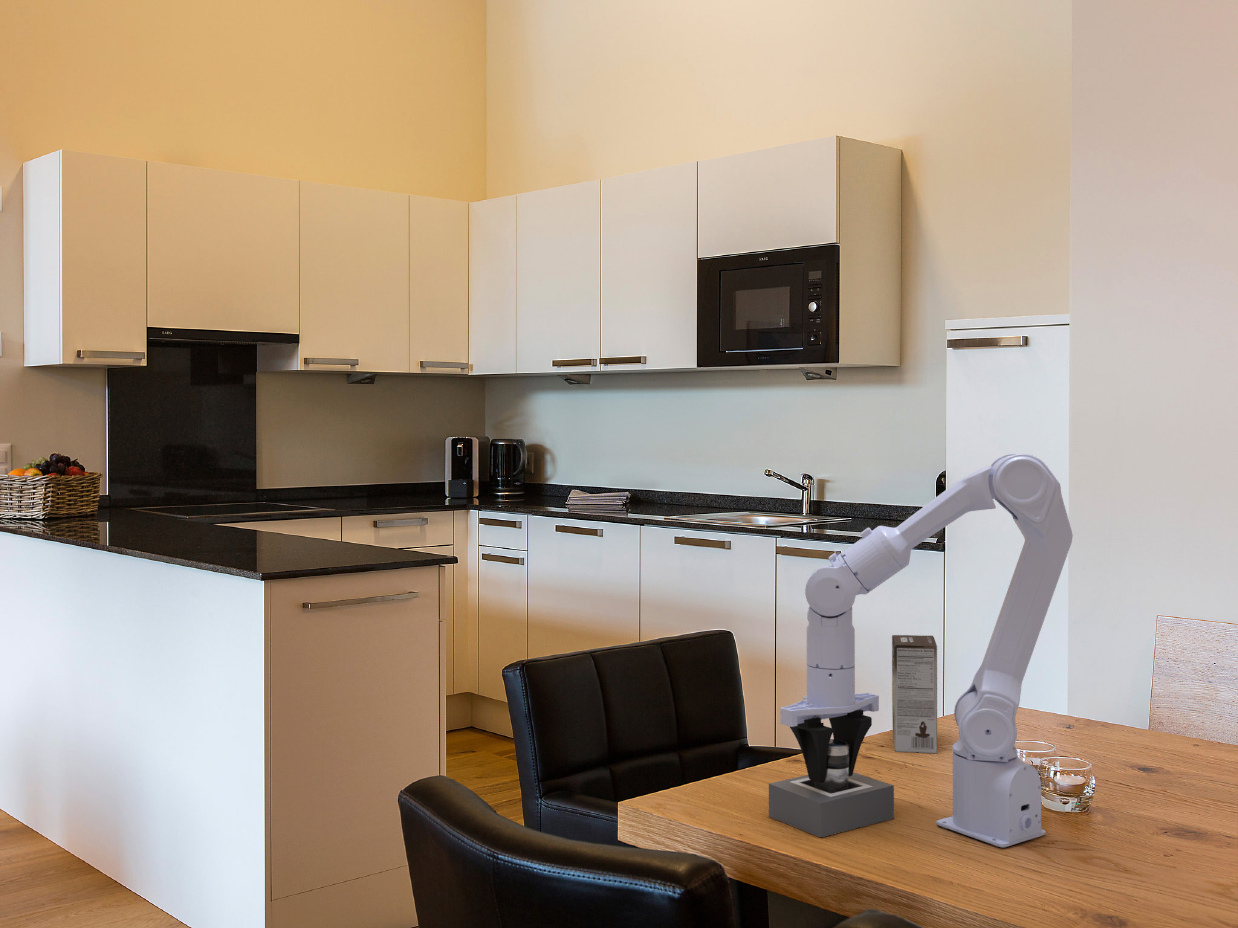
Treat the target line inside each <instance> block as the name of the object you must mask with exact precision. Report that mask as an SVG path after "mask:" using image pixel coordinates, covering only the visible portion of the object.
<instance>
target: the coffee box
mask: <svg viewBox="0 0 1238 928" xmlns="http://www.w3.org/2000/svg"><path fill="white" fill-rule="evenodd" d="M891 692H892V693H891V696H892V697H891V702H892V705H891V706H892V707H891V708H892V738H893V746H894V747H893V748H894V751H895V752H897V753H899V752H900V753H916V752H919V753H921V754H938V645H937V642H936V640H935V636H934V635H916V634H914V635H910V634H909V635H908V634H905V635H904V634H892V635H891ZM919 753H918V754H919Z"/></svg>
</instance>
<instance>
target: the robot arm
mask: <svg viewBox="0 0 1238 928" xmlns="http://www.w3.org/2000/svg"><path fill="white" fill-rule="evenodd" d="M994 500H995V501H996V502H997V503H998V504H999V505H1000V506H1001V507H1002V508H1003V509H1005V510H1006V511H1007V512H1008V513H1009V514H1010V515H1011V516H1012V519H1013V521H1014V524H1016V527H1017V528H1018V529H1019V531H1020V533H1021V534H1022V536H1023V538H1024V543H1023V545H1022V548H1021V552H1020V555H1019V557H1018V560H1017V562H1016V565H1015V569H1014V572H1013V574H1012V577H1011V579H1010V583H1009V585H1008V587H1007V591H1006V594H1005V597H1004V600H1003V603H1002V606H1001V608H1000V611H999V614H998V616H997V620H996V623H995V625H994V629H993V631H992V634H991V637H990V640H989V642H988V645H987V648H986V651H985V653H984V657H983V660H982V662H981V664H980V666H979V668H978V669H977V671H976V673H975V674H974V677H973V680H972V682H971V685H970V686H969V688H968V689H966V691H964V693H962V694H961V695H960V696H959V698H957V701H956V702H955V705H954V711H953V712H954V713H953V714H954V721H955V723H956V725H957V726H958V735H959V738H958V740H957V741H956V742H955V743H953V744H952V816H949V817H943V818H941V819H938V820H936V825H937V826H940V827H941V828H945V829H949V830H951V831H953V832H955V833H959V834H962V835H965V836H968V837H971V838H972V839H973V838H974V839H976V840H980V841H981V842H985V843H987V844H990V845H993V846H995V847H998V848H999V847H1000V848H1007V847H1010V846H1014V845H1016V844H1021V843H1022V842H1027V841H1029V840H1033V839H1036V838H1039V837H1042V836H1045V835H1046V830H1045V829H1043V828H1042V781H1041V777H1040V775H1039V772H1038V770H1037V768H1035V767H1034V766H1032V765H1030V764H1028V763H1027V762H1024V761H1023V760H1021V758H1020V757H1019V756H1018V750H1017V747H1016V746H1015V744H1016V741H1017V740H1018V739H1017V738H1018V728H1017V723H1016V722H1017V721H1016V717H1017V716H1016V715H1017V711H1018V709H1019V706H1020V701H1021V695H1022V694H1021V692H1022V686H1023V681H1024V677H1025V675H1026V673H1027V669H1028V667H1029V664H1030V661H1031V658H1032V656H1033V652H1034V649H1035V648H1036V647H1035V646H1036V645H1037V641H1038V639H1039V636H1040V633H1041V630H1042V627H1043V625H1044V621H1045V618H1046V616H1047V613H1048V610H1049V607H1050V604H1051V602H1052V599H1053V597H1054V593H1055V590H1056V588H1057V586H1058V583H1059V579H1060V576H1061V573H1062V571H1063V567H1064V565H1065V562H1066V560H1067V557H1068V553H1069V551H1070V548H1071V546H1072V542H1073V536H1074V535H1073V531H1072V527H1071V524H1070V521H1069V516H1068V513H1067V509H1066V505H1065V503H1064V499H1063V494H1062V488H1061V483H1060V481H1059V480H1058V479H1057V477H1056V476H1055V474H1053V472H1052V471H1051V470H1050V468H1049V467H1048V465H1046V463H1045V462H1044V461H1043V460H1042V459H1040V458H1039V457H1037V456H1034V455H1033V454H1028V453H1010V454H1004V455H1002V456H1001V457H999V458H997V459H996V460H994V461H993V462H992V463H991V464H990V465H986V466H982V467H981V468H979V469H977V470H975V471H973V472H972V473H969V474H968V475H966V476H964V477H962V478H960V479H959V480H957V481H956V482H955V483H953V484H952V485H951V486H949V487H948V488H947V489H945V490H944V491H943V492H941V493H940V494H939V495H937V496H936V497H935V498H933V499H932V500H930V501H929V502H928V503H927V504H925V505H924V506H923V507H922V508H920V509H919V510H917V511H916V512H915V513H913V514H912V515H911V516H909V517H908V518H907V519H905V520H904V521H903V522H902V523H900V524H899V525H898V526H896V527H891V526H885V525H878V526H877V527H875V528H874V529H873V530H872V529H871V528H870V527H866V528H865V529H864V530H863V531H861V532H860V536H861V538H860V539H858V540H857V541H856V542H854V543H853V544H852V545H850V546H849V547H848V548H846V549H845V550H843V551H841V553H839V554H837V553H836V552H834V553H832V554H831V555H830V556H829V557H828V561H829V562H830V564H824V565H821V566H820V567H818V568H816V569H815V570H814V571H813V572H812V573H811V576H809V578H808V579H807V582H806V584H805V589H804V591H805V592H804V593H805V599H806V601H807V603H808V605H809V607H808V610H807V614H806V615H807V621H808V625H807V626H806V695H803V697H802V699H803V700H800V701H798V702H794V703H792V704H790V705H787V706H782V707H780V709H779V710H780V714H779V715H780V725H784V726H788V727H789V729H790V730H791V731H792V733H793V735H794V737H795V739H796V741H797V743H798V746H799V747H800V751H801V753H802V756H803V759H804V763H805V767H806V771H807V775H808V776H809V779H810V780H813V781H816V782H819V783H822V782H825V778H826V767H827V752H828V747H829V742H830V739H837V740H842V741H845V742H848V743H849V776H852V775H853V772H855V766H856V763H857V759H858V755H859V752H860V748H861V746H862V744H863V742H864V740H865V737H866V736H867V733H868V731H869V730H870V728H871V727H872V726H873V723H872V721H873V718H872V717H871V716H868V715H865V714H864V712H872V713H875V712H879V709H880V708H879V707H880V705H879V704H880V703H879V702H880V700H879V699H880V697H879V695H878V694H873V693H870V692H863V693H862V692H861V693H856V685H855V684H856V681H855V680H856V677H855V672H856V671H855V670H856V669H855V668H856V666H855V665H856V664H855V661H856V658H855V657H856V656H855V654H856V648H855V645H856V644H855V643H856V641H855V640H856V638H855V636H856V635H855V631H856V630H855V627H854V625H853V605H854V603H855V602H856V601H855V599H856V596H858V595H867V594H869V593H870V592H872V591H873V590H875V589H876V588H877V587H880V585H882V584H884V582H886V581H887V580H889V579H890V578H891V577H893V576H895V575H897V574H898V573H899V572H901V571H902V570H903V569H906V567H908V566H909V564H910V561H911V553H912V549H913V548H915V547H917V546H918V545H919V544H921V543H923V542H924V541H926V540H927V539H929V538H931V536H933V535H935V534H937V533H938V532H939V531H941V530H942V529H944V528H945V527H947V526H948V525H950V524H951V523H953V522H955V521H957V519H960V518H961V517H962V516H964V515H965V514H966V513H967V514H968V513H969V512H975V511H976V512H978V511H984V510H985V511H986V510H993V509H996V508H997V507H996V504H995V502H994ZM826 719H827V720H829V724H830V726H826V725H824V724H825V723H824V722H822V720H826ZM832 737H833V738H832Z"/></svg>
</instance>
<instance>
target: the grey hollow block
mask: <svg viewBox="0 0 1238 928" xmlns="http://www.w3.org/2000/svg"><path fill="white" fill-rule="evenodd" d="M768 817H769V818H771V819H775V820H776V821H779V822H781V823H783V824H787V826H788V825H789V826H791V827H794V828H795V827H796V829H798V830H800V829H801V830H800V831H802V832H805V833H808V834H810V833H811V835H813V836H815V837H818V838H820V837H823V838H827V837H829V836H828V835H831V836H834V835H836V834H835V833H838V834H841V833H840V832H842V833H844V832H845V831H846V832H848V831H847V830H849V831H853V830H856V828H857V829H859V828H858V827H860V828H864V827H868V826H872V825H875V824H878V823H883V822H886V821H890V820H893V819H895V785H894V784H890V783H888V782H884V781H882V780H879V779H876V778H873V777H869V776H866V775H863V774H861V773H858V772H855V771H853V775H852V776H849V779H848V790H844V791H840V792H836V793H832V794H830V793H827V792H825V791H822V790H819V789H816V788H815V781H813V780H810V779H809V776H808V774H806V775H802V776H797V777H792V778H787V779H784V780H783V779H782V780H780V781H773V782H771V783H768ZM871 824H872V825H871ZM863 826H864V827H863ZM852 829H853V830H852ZM846 832H845V833H846ZM833 834H834V835H833ZM826 836H827V837H826Z"/></svg>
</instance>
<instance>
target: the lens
mask: <svg viewBox="0 0 1238 928" xmlns="http://www.w3.org/2000/svg"><path fill="white" fill-rule="evenodd" d="M848 779H849V743H848V742H845V741H842V740H837V739H834V738H831V739H830V742H829V747H828V752H827V767H826V778H825V782H822V783H819V782H816V781H815V788H816V789H819V790H822V791H825V792H827V793H830V794H832V793H836V792H840V791H844V790H848Z"/></svg>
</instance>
